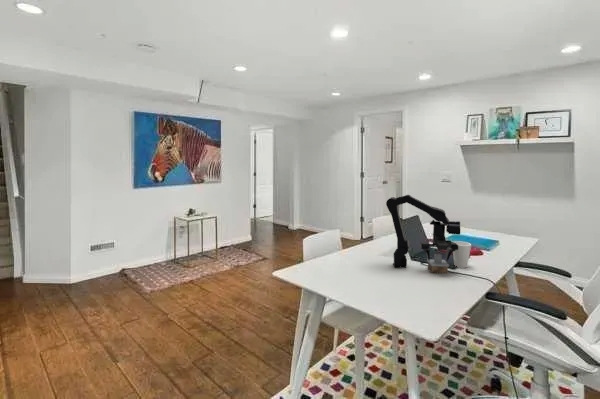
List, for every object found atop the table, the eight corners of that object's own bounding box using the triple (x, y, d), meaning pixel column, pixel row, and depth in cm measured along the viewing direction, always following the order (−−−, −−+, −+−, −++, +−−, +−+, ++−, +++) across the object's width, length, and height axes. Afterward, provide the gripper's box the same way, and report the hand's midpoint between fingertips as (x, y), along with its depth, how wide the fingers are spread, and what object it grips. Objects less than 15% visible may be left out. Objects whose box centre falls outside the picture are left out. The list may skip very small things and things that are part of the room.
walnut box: (431, 273, 178) (432, 265, 177) (427, 268, 186) (428, 261, 185) (447, 273, 177) (447, 266, 176) (442, 268, 185) (443, 261, 184)
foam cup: (472, 269, 183) (473, 246, 181) (453, 268, 185) (454, 245, 183) (467, 263, 192) (468, 241, 190) (449, 263, 194) (450, 241, 192)
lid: (431, 266, 177) (431, 257, 176) (426, 260, 186) (427, 252, 185) (449, 266, 176) (449, 257, 175) (443, 261, 185) (444, 252, 184)
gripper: (424, 236, 172) (423, 265, 174) (462, 236, 170) (461, 266, 172) (419, 231, 183) (418, 259, 185) (455, 231, 181) (453, 259, 183)
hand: (437, 261), depth 181 cm, fingers open, 9 cm apart
